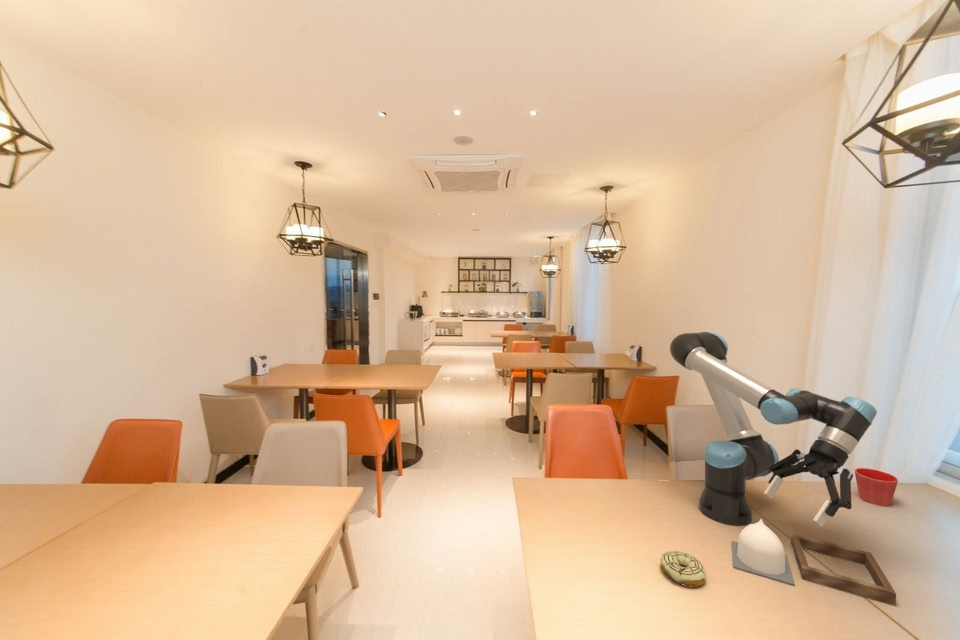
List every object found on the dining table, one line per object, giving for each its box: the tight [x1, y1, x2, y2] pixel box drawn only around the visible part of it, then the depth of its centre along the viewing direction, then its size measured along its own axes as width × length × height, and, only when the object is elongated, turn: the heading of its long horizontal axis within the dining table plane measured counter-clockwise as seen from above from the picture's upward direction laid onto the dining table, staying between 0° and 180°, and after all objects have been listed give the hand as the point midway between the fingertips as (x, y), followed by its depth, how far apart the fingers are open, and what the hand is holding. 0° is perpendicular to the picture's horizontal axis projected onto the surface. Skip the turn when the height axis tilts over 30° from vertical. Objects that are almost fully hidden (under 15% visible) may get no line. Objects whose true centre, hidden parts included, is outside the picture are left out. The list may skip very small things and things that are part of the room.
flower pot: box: [854, 467, 899, 507], centre depth 135 cm, size 11×11×10 cm
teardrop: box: [737, 518, 786, 575], centre depth 104 cm, size 11×11×12 cm
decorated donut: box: [660, 550, 707, 588], centre depth 100 cm, size 10×11×4 cm
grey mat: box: [731, 540, 796, 587], centre depth 105 cm, size 13×13×1 cm
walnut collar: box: [790, 533, 897, 607], centre depth 101 cm, size 17×17×3 cm
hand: (790, 508), depth 105 cm, fingers open, 13 cm apart
